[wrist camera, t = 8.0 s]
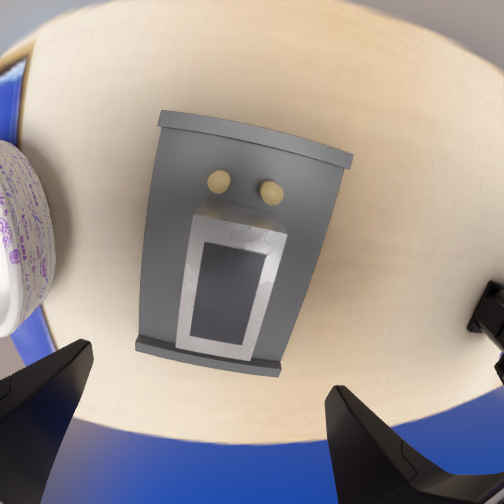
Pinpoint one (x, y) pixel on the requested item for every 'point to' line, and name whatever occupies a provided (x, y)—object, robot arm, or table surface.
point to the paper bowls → (23, 240)
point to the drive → (228, 278)
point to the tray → (241, 192)
